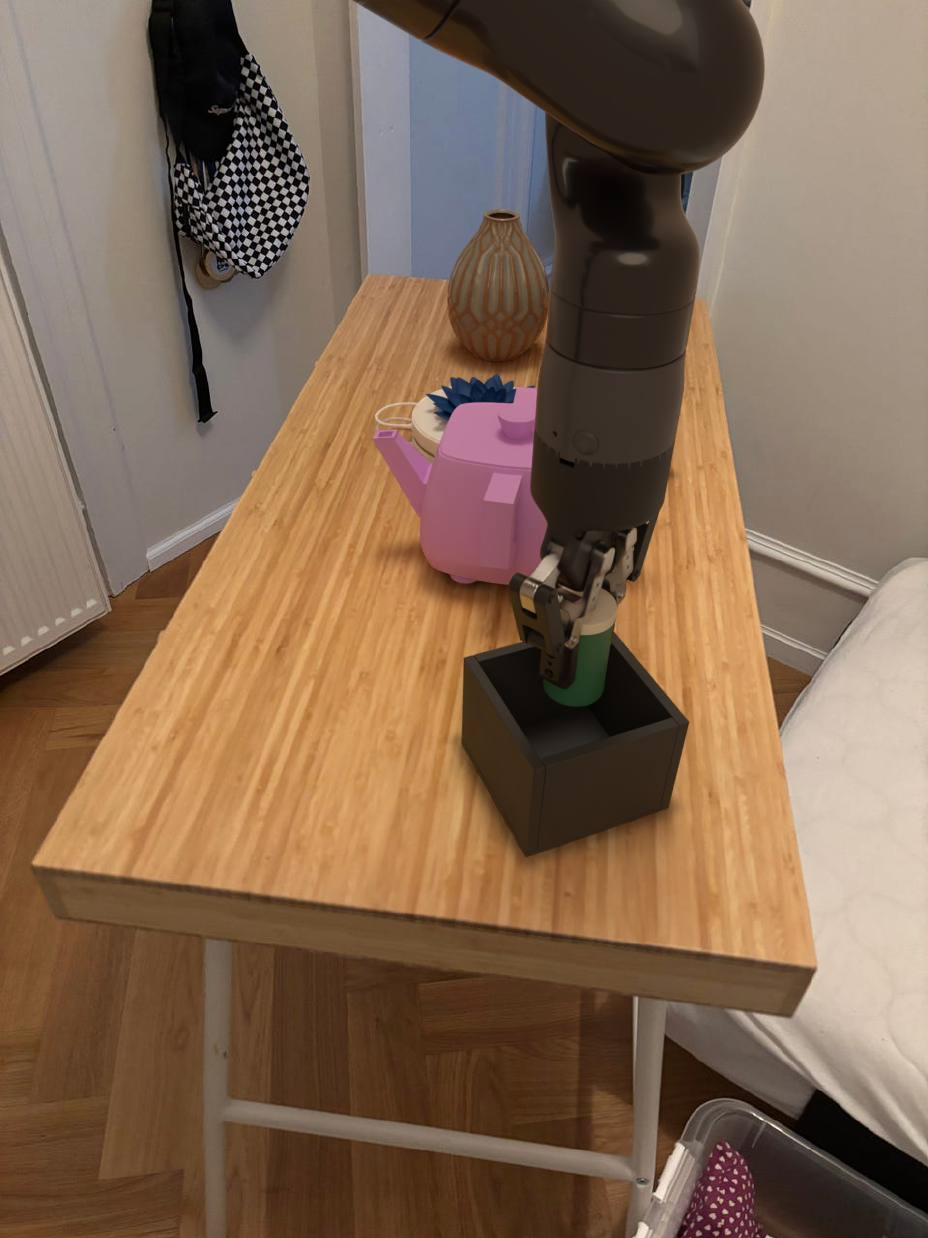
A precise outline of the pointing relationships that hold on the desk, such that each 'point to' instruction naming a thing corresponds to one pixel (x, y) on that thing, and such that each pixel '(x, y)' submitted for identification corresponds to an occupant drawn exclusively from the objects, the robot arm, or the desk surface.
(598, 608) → the tube
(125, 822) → the desk surface
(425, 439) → the lotus flower trinket box
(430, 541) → the teapot
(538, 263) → the vase
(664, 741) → the bin
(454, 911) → the desk surface
